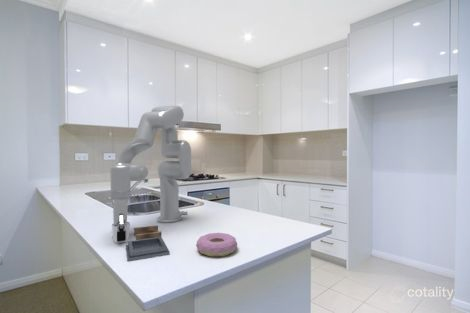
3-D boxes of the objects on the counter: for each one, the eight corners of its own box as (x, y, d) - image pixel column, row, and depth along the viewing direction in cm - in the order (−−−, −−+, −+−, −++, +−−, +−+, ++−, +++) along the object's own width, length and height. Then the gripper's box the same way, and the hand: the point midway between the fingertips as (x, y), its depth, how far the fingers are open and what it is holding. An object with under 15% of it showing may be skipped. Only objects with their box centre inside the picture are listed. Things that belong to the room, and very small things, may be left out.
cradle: (162, 241, 107) (162, 235, 107) (169, 254, 94) (169, 247, 94) (125, 247, 101) (125, 240, 101) (127, 261, 88) (127, 254, 88)
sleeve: (157, 231, 120) (157, 225, 120) (161, 239, 110) (161, 232, 110) (134, 234, 116) (134, 227, 116) (136, 242, 106) (136, 235, 106)
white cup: (119, 244, 104) (119, 227, 103) (108, 241, 107) (107, 224, 106) (133, 239, 110) (133, 222, 110) (122, 236, 113) (122, 220, 113)
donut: (221, 240, 109) (221, 228, 109) (245, 251, 98) (245, 238, 97) (188, 249, 99) (188, 236, 99) (211, 263, 88) (211, 248, 87)
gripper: (110, 192, 114) (111, 233, 114) (110, 199, 98) (110, 246, 99) (129, 191, 117) (129, 231, 118) (131, 197, 101) (132, 243, 102)
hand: (121, 237), depth 108 cm, fingers closed on white cup, 6 cm apart
